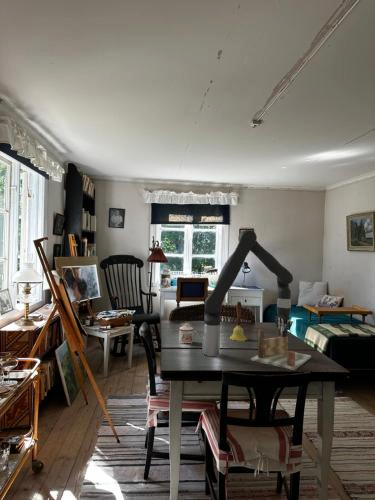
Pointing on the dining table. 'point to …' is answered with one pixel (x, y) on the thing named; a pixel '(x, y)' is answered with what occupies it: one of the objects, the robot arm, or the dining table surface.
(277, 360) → the towel on rod
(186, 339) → the teacup with lid
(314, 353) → the dining table surface
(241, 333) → the handbell
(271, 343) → the wooden panel
